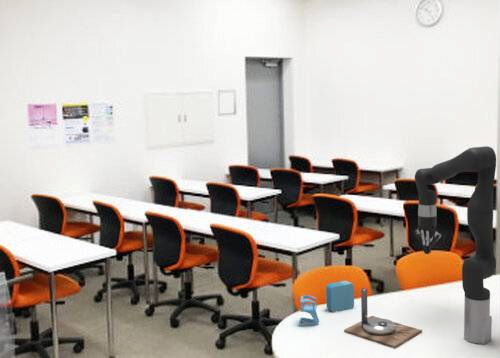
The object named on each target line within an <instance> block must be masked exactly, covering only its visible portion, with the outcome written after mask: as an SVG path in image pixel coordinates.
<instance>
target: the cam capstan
mask: <svg viewBox="0 0 500 358" xmlns="http://www.w3.org/2000/svg"><path fill="white" fill-rule="evenodd" d="M360 289H361V290H360V298H361V307H360V308H361V310H360V311H361V321H362V327H363V330H364V331H366V332H367V333H370V334H375V335H387V334H391V333H393V332H395V327H400V328H403V326H398V325H395V323H396V322H395V321H392V320H390V319H387V318H381V317H378V318H373V319H368V320H367V318H368V288H365V287H364V288H360ZM394 322H395V323H394Z"/></svg>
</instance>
